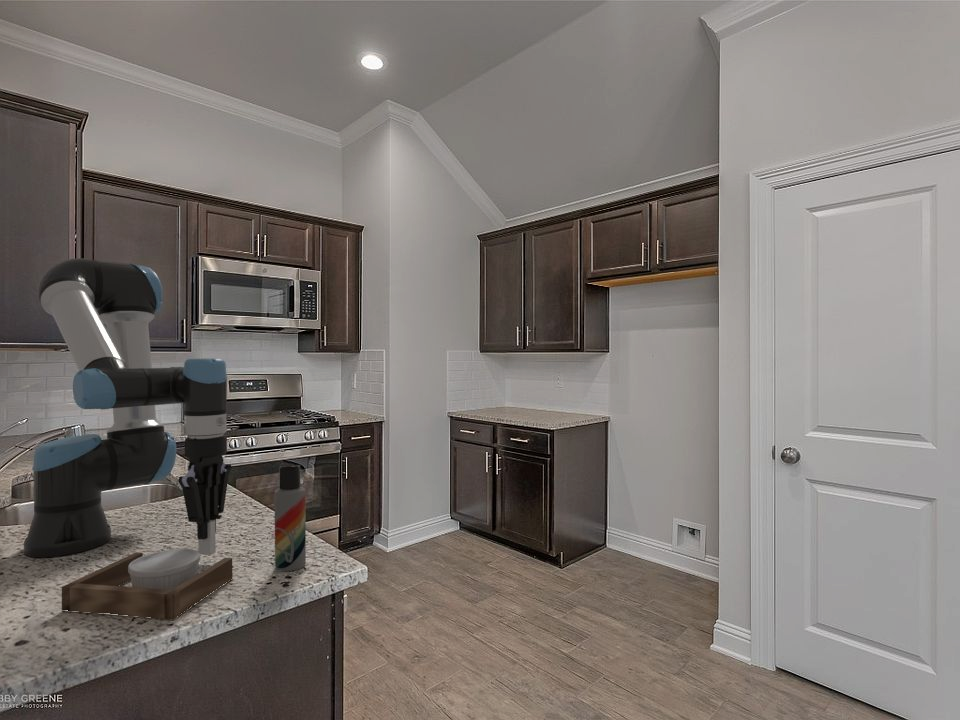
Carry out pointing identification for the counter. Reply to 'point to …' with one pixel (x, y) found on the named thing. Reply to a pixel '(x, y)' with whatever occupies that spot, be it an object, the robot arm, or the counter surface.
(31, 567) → the counter surface
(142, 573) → the ramekin
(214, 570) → the walnut box
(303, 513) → the lotion bottle
